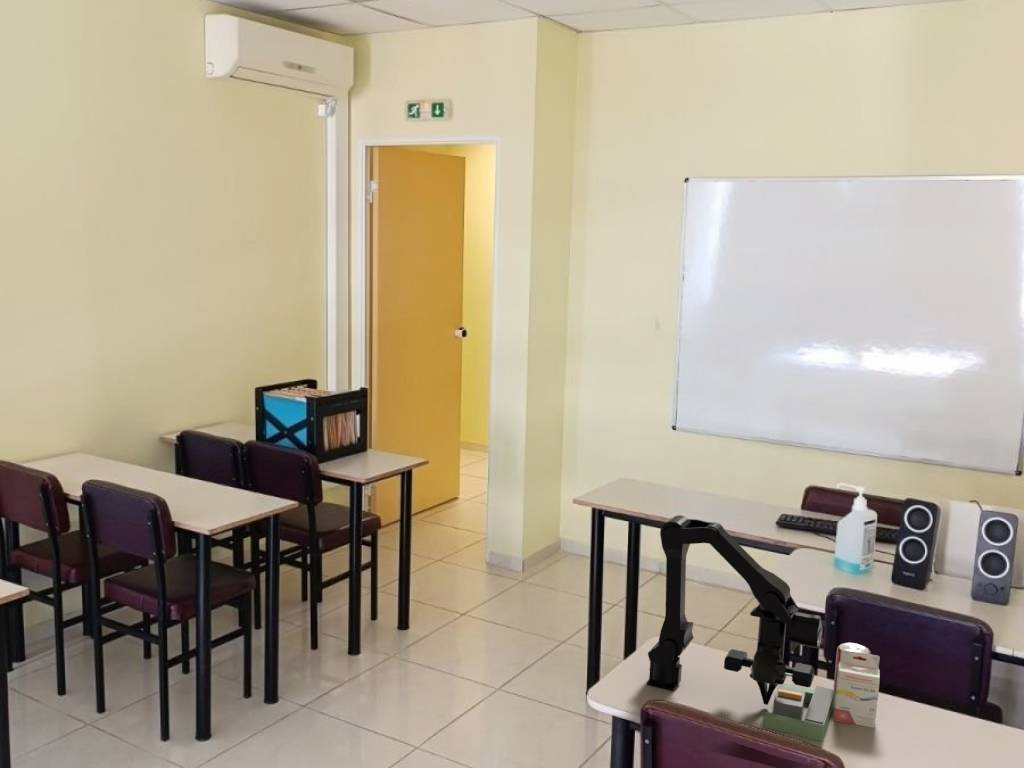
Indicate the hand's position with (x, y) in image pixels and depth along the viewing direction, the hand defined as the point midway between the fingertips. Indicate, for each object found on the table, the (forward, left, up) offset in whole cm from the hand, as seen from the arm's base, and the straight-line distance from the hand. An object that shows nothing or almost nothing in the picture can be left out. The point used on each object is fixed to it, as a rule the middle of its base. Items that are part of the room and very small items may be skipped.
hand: (766, 703), depth 215 cm
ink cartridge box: (+18, +4, -1) cm, 19 cm away
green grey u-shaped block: (+8, 0, -1) cm, 8 cm away
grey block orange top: (+5, +2, -1) cm, 5 cm away
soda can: (+16, +14, -1) cm, 22 cm away
